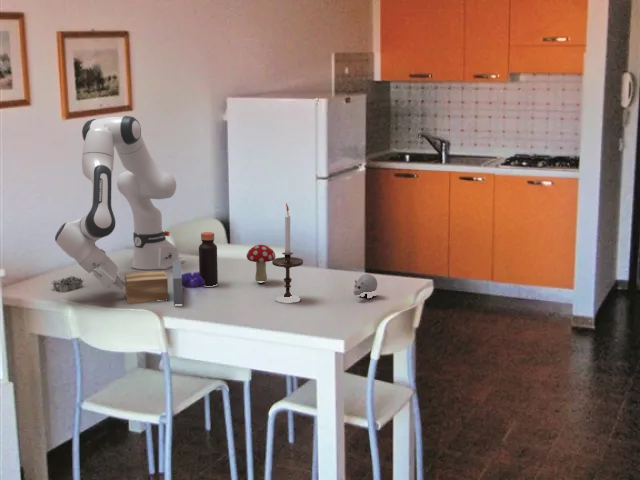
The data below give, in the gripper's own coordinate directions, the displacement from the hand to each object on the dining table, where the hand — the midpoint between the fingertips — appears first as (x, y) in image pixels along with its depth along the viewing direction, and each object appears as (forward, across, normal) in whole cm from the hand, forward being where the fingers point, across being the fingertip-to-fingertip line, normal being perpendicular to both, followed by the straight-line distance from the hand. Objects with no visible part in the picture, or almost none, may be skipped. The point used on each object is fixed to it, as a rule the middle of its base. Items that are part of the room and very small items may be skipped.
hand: (123, 286), depth 317 cm
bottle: (+25, +14, -18) cm, 34 cm away
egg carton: (-12, +17, +18) cm, 28 cm away
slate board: (+16, 0, -10) cm, 19 cm away
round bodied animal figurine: (+63, -12, -57) cm, 86 cm away
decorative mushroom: (+39, +14, -32) cm, 52 cm away
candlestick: (+44, -10, -38) cm, 59 cm away
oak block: (+9, 0, -2) cm, 9 cm away
